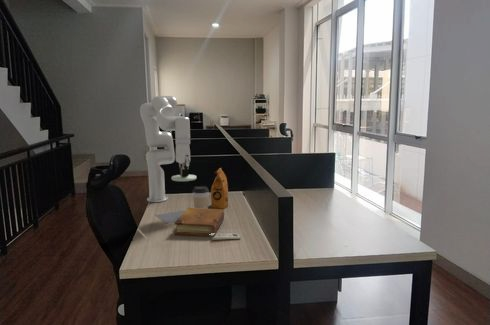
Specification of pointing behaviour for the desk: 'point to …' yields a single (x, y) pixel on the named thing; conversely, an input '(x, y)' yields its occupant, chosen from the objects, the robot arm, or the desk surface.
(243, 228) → the desk surface
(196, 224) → the diary
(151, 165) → the robot arm
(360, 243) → the desk surface
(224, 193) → the coffee package
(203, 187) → the coffee cup
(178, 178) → the lid
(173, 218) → the mat
